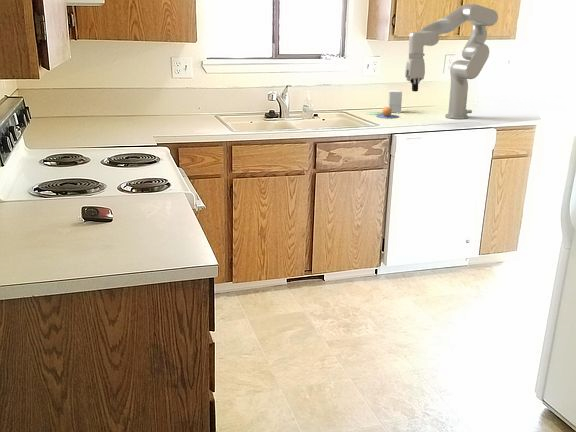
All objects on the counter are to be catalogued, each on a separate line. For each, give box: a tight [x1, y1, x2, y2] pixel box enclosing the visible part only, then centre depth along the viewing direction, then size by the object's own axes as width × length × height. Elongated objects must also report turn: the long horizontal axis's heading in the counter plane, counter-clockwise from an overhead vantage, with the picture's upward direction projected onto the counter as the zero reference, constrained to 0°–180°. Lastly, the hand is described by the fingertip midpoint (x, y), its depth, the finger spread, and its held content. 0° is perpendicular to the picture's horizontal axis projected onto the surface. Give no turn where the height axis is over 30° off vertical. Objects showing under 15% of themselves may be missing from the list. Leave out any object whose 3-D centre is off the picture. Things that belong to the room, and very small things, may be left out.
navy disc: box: [375, 114, 400, 119], centre depth 345 cm, size 13×13×1 cm
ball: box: [381, 106, 393, 116], centre depth 344 cm, size 6×6×6 cm
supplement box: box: [387, 89, 403, 114], centre depth 359 cm, size 7×7×13 cm
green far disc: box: [367, 111, 382, 116], centre depth 355 cm, size 10×10×1 cm
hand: (414, 91), depth 326 cm, fingers closed
